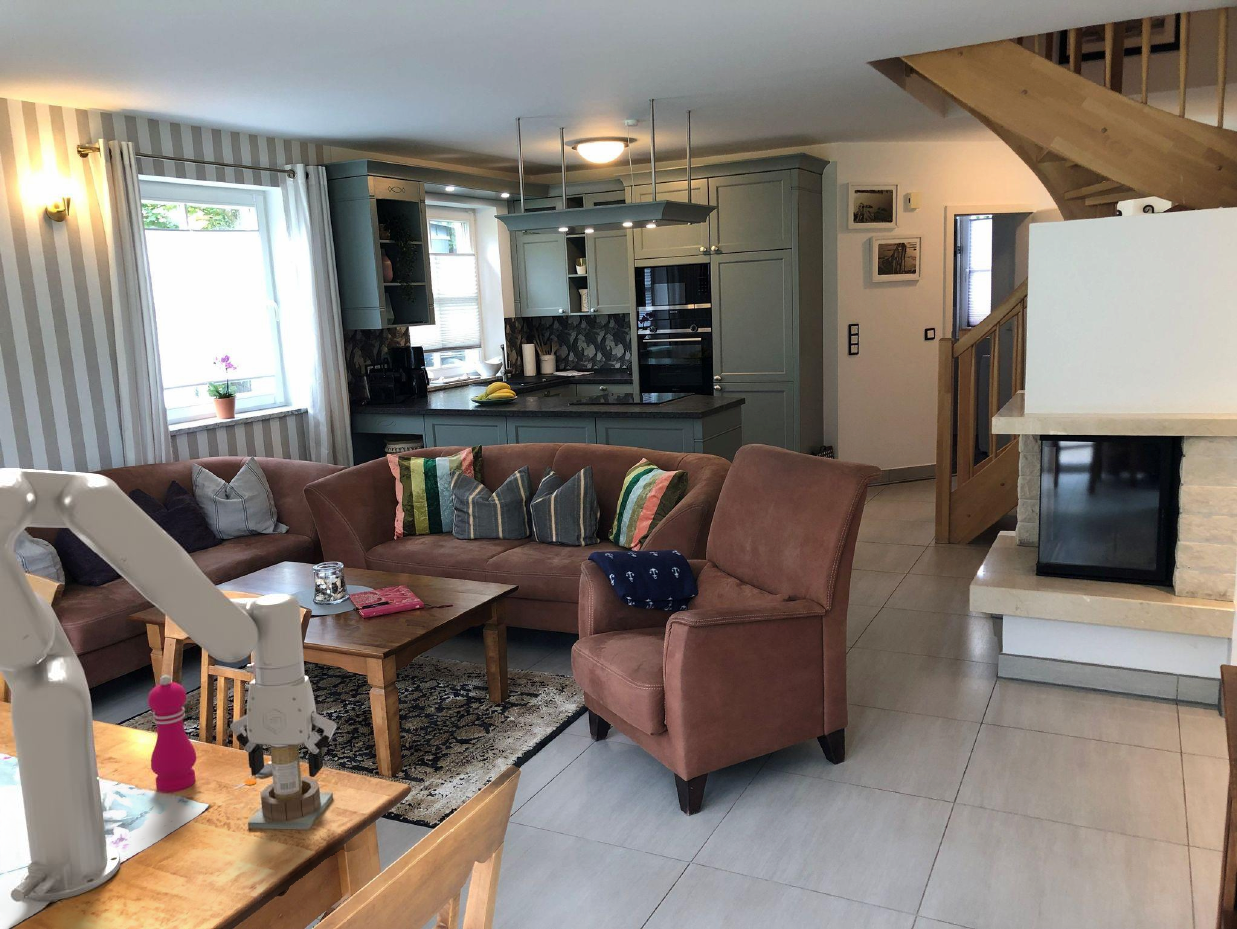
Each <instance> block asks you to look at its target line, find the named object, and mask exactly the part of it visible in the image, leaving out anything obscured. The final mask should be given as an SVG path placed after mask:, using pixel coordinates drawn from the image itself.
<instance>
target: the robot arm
mask: <svg viewBox="0 0 1237 929" xmlns="http://www.w3.org/2000/svg"><path fill="white" fill-rule="evenodd" d="M27 527H29V528H30V527H31V528H33V527H34V528H67V529H69V530H70V531H71V533H72V534H74V535H75V536H76V537H77V538H78V539H80V541H81V542H83V543H84V544H85V545H86V546H87V547H88V548H90V549H91V550H92V551H93V552H94V553H96V554H97V555H98V556H99V557H100V558H102V559H103V560H104V561H105V562H106V563H107V564H108V565H110V567H111V568H113V569H114V570H115V571H116V572H117V573H118V574H119V575H120V576H122V578H124V580H126V581H127V582H128V583H129V584H131V586H132V587H134V588H135V589H136V591H138V592H139V593H140V594H141V595H142V597H144V598H145V599H146V600H147V601H149V602H150V604H152V605H154V606H155V607H156V608H158V610H160V611H161V612H162V613H163V614H164V615H165V616H166V617H167V618H168V619H169V620H171V621H172V622H173V623H174V625H176V626H177V627H178V628H180V630H181V631H182V632H183V633H185V634H186V635H187V636H188V637H189V638H190V639H191V640H192V641H194V642H195V643H196V644H197V645H198V646H199V647H200V648H201V649H202V650H204V652H206V653H207V654H208V655H209V656H211V657H212V658H214V659H215V660H218V661H219V662H224V663H236V662H238V661H242V660H244V659H246V658H247V657H248V656H250V655H251V654H252V660H253V661H252V663H251V664H247V665H246V667H245V668H246V670H245V671H246V673H249V674H250V673H251V674H252V675H253V676H252V677H253V680H251V681H250V682H249V684H248V685H249V687H248V694H247V702H246V715H243V716H242V717H239V718H237V719H236V720H234V721H232V722H231V724H230V729H231V731H232V732H233V734H234V736H236V738H235V739H236V741H237V742H238V743H239V744H241V746H243V748H244V751H245V752H246V753H247V754H248V755H247V756H248V766H249V769H250V771H251V773H250V775H252V776H251V777H256V775H257V774H258V773H259V772H260V771H261V770H262V769H263V768H264V766H265V759H264V747H263V745H265V746H267V745H269V746H270V745H298V746H299V745H303V744H304V745H305V747H306V748H307V749H308V750H309V751H310V752H309V753H308V755H307V759H308V760H307V761H308V763H307V764H308V773H309V774H308V775H309V778H315V776H316V775H317V774H318V773H319V772H320V771H321V770H322V769H323V767H324V766H323V765H324V762H323V760H324V759H323V748H324V746H325V745H327V743H328V742H329V741H330V740H331V739H332V737H333V734H334V733H335V731H336V729H337V726H338V725H337V723H336V722H335V721H332V720H331V719H330V718H326V717H325V716H322V715H321V714H319V713H317V710H316V701H315V697H314V692H313V689H312V684H311V682H310V678H309V676H307V675H306V674H305V664H304V660H305V659H304V649H303V635H302V619H301V617H302V616H301V605H300V601H299V600H298V598H297V597H296V596H294V594H289V593H272V594H266V595H265V594H264V595H263V596H260V597H255V598H229V597H228V596H226V595H225V593H223V591H222V590H220V588H218V587H217V586H216V585H215V584H214V583H213V582H212V581H211V580H210V579H209V578H208V577H207V575H205V573H203V571H202V570H201V569H200V568H199V566H198V565H197V563H196V562H195V561H194V560H193V558H192V557H191V556H190V554H189V553H188V552H187V551H186V550H185V548H183V546H181V545H180V544H179V542H177V541H176V540H175V539H174V538H173V536H171V535H170V534H169V533H168V532H167V531H165V530H164V529H163V528H162V527H161V526H160V525H159V524H158V523H157V522H156V521H155V520H153V519H152V518H151V517H150V516H149V515H148V514H147V513H146V512H145V511H144V510H143V509H142V508H141V507H140V506H139V505H138V504H137V503H135V502H134V500H132V499H131V498H130V497H129V495H127V494H126V493H125V492H124V491H123V490H122V489H121V488H120V487H119V486H118V484H117V483H116V482H115V481H114V480H113V479H111V478H109V477H107V476H105V475H103V474H97V473H89V472H87V473H86V472H68V471H53V470H40V469H39V470H36V469H26V468H23V469H22V468H7V467H5V468H1V467H0V673H1V675H2V678H3V679H4V681H5V683H6V684H7V686H8V688H9V690H10V717H11V718H10V719H11V725H12V726H11V727H12V733H13V739H14V743H15V744H14V745H15V749H16V756H17V758H16V759H17V764H18V772H19V773H18V774H19V779H20V786H21V792H22V800H23V808H24V817H25V825H26V830H27V842H28V849H29V855H30V861H31V862H30V863H29V864H28V865H27V872H26V873H25V874H24V875H23V877H22V878H21V882H20V884H19V885H17V886H16V887H15V888H14V889H13V890H11V892H10V897H11V899H12V901H15V902H16V903H18V902H22V901H24V900H25V899H26V898H29V899H31V900H35V901H55V900H56V901H59V900H63V899H67V898H72V897H74V896H78V895H81V894H83V893H86V892H89V891H91V890H93V889H95V888H97V887H99V886H100V885H103V884H104V883H105V882H106V881H108V880H110V879H111V878H112V877H113V876H114V875H115V874H116V873H117V871H118V870H119V868H120V866H121V856H120V853H119V852H118V850H116V849H115V848H113V847H109V846H107V837H106V830H105V829H106V828H105V821H104V812H103V811H104V810H103V805H102V804H103V803H102V796H101V795H102V794H101V786H100V779H99V778H100V776H99V769H98V768H99V767H98V763H97V754H96V746H95V745H96V744H95V734H94V723H93V721H94V719H93V708H92V701H91V699H92V698H91V694H90V690H89V685H88V682H87V678H86V673H85V670H84V668H83V666H82V664H81V662H80V660H79V658H78V655H77V653H76V652H75V650H74V648H73V646H72V644H71V642H70V640H69V638H68V636H67V634H66V632H65V631H64V628H63V626H62V625H61V622H60V620H59V619H58V617H57V615H56V613H55V610H54V609H53V607H52V606H51V604H50V602H49V601H48V600H47V599H46V598H45V597H44V596H42V595H41V594H39V593H37V592H35V591H34V589H33V588H32V585H31V584H30V582H29V580H28V578H27V576H26V573H25V570H24V568H23V567H22V564H21V563H20V562H19V559H18V558H17V555H16V552H15V543H16V539H17V538H18V536H19V535H20V533H22V532H23V531H24V530H25V529H26V528H27ZM245 726H246V730H245ZM318 728H320V729H322V730H323V734H322V736H320V735H319V734H318V732H317V730H318Z"/></svg>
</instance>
